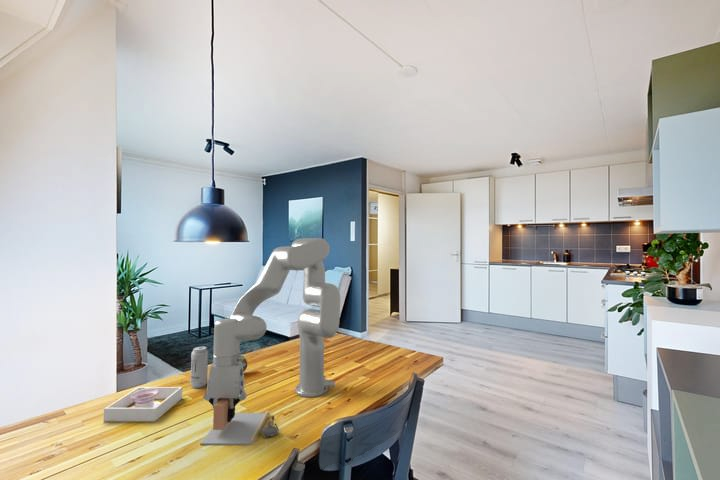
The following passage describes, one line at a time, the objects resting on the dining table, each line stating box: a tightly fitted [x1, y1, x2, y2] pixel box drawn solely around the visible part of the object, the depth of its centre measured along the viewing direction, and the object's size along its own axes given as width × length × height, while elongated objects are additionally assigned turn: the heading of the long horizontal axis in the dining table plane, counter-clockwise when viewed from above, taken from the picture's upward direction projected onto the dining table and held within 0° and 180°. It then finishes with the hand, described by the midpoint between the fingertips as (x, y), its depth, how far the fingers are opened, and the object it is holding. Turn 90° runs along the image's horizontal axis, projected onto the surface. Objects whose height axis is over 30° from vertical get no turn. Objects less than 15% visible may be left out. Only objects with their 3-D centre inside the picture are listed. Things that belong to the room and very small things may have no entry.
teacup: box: [129, 388, 162, 408], centre depth 109 cm, size 12×12×6 cm
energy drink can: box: [190, 346, 209, 389], centre depth 130 cm, size 6×6×15 cm
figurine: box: [260, 415, 280, 439], centre depth 96 cm, size 5×4×6 cm
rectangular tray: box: [103, 386, 183, 422], centre depth 110 cm, size 16×16×4 cm
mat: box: [200, 410, 270, 446], centre depth 99 cm, size 15×17×1 cm
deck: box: [212, 398, 229, 430], centre depth 99 cm, size 3×9×7 cm, turn 1°
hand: (224, 419), depth 99 cm, fingers closed on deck, 3 cm apart
